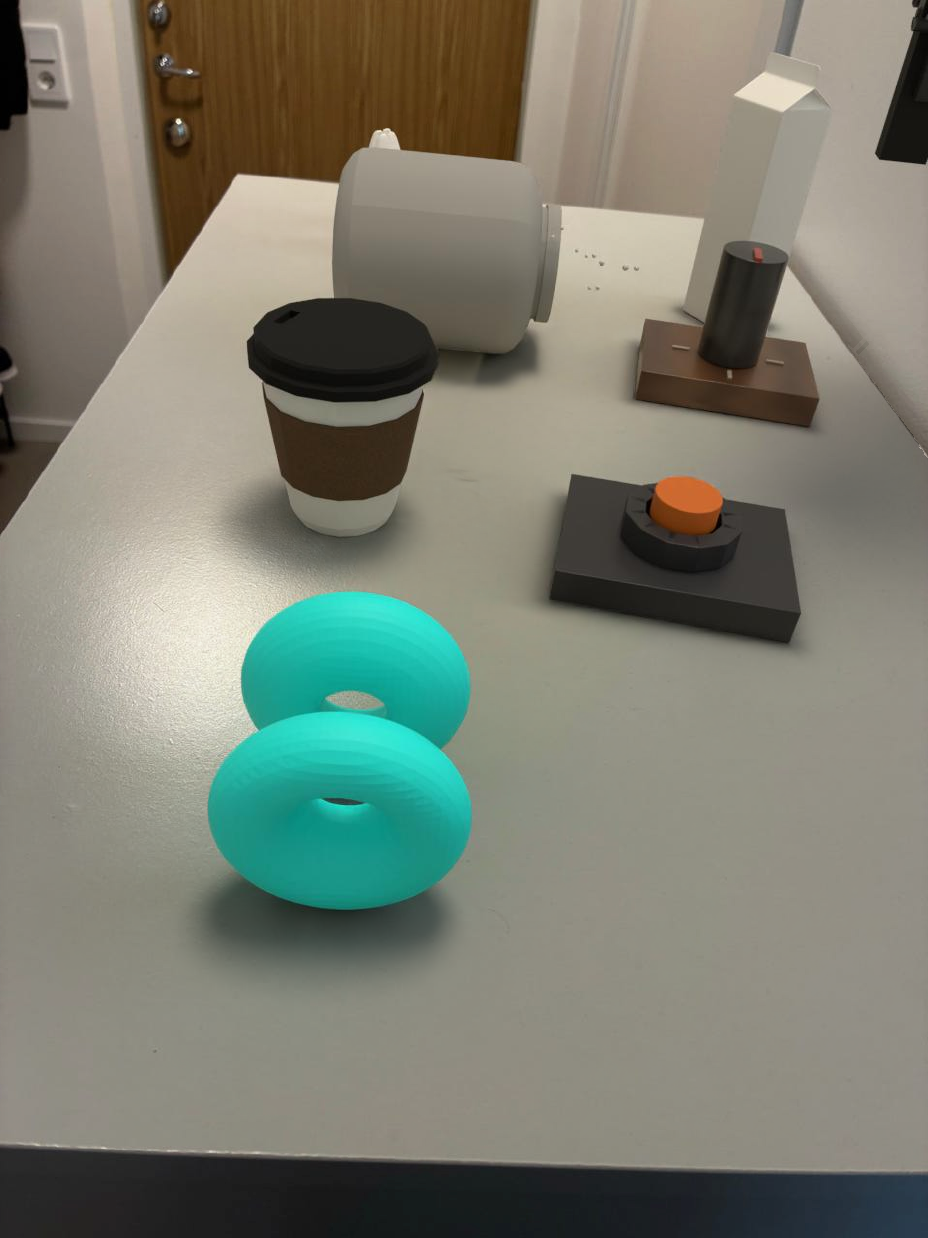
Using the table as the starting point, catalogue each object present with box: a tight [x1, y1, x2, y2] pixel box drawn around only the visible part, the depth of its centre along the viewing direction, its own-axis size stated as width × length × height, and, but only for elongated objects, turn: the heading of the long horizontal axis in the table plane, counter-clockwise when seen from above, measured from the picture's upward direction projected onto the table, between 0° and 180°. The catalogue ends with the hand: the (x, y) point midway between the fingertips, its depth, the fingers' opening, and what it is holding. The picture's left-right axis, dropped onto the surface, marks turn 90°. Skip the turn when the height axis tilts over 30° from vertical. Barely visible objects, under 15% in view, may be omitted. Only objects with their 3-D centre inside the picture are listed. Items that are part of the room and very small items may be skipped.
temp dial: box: [698, 241, 790, 368], centre depth 76 cm, size 5×5×9 cm
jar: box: [331, 147, 640, 355], centre depth 78 cm, size 19×15×25 cm
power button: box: [650, 475, 724, 536], centre depth 56 cm, size 4×4×2 cm
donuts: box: [207, 590, 473, 911], centre depth 39 cm, size 10×10×10 cm
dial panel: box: [634, 318, 820, 427], centre depth 80 cm, size 14×11×3 cm
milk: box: [682, 51, 834, 325], centre depth 85 cm, size 6×6×22 cm
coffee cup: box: [246, 297, 440, 538], centre depth 57 cm, size 11×11×12 cm
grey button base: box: [549, 473, 802, 643], centre depth 58 cm, size 14×11×4 cm
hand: (900, 158), depth 57 cm, fingers closed
